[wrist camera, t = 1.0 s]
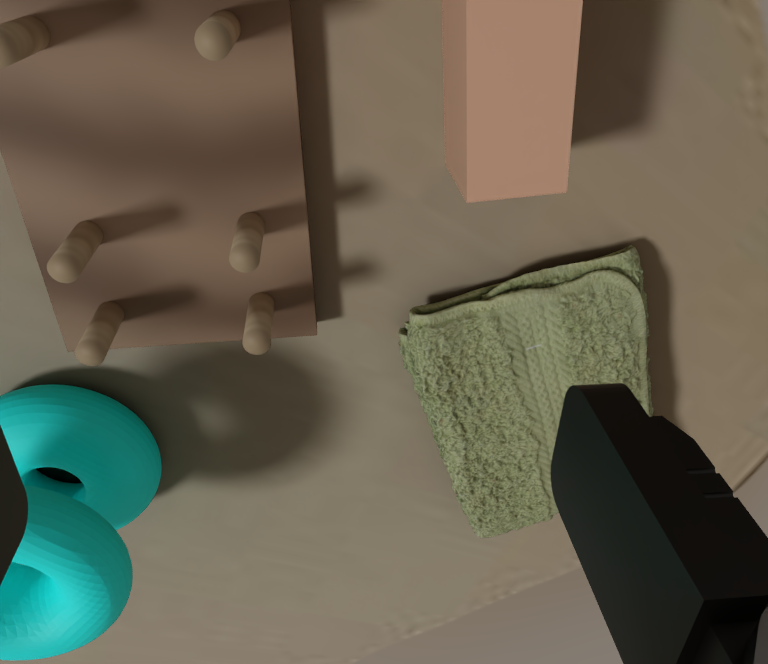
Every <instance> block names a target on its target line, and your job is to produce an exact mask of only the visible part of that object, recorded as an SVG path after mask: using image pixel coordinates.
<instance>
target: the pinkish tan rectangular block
mask: <svg viewBox="0 0 768 664" xmlns="http://www.w3.org/2000/svg"><path fill="white" fill-rule="evenodd" d="M582 5H583V0H442V29H443V78H444V126H445V165H446V167H447V169H448V170H449V172H450V174H451V176H452V177H453V179H454V181H455V183H456V184H457V186H458V188H459V190H460V192H461V193H462V195H463V197H464V199H465V200H466V202H467V203H470V202H479V201H489V200H498V199H508V198H518V197H527V196H537V195H546V194H556V193H565V192H567V184H568V172H569V160H570V148H571V136H572V124H573V112H574V100H575V88H576V76H577V64H578V53H579V41H580V29H581V17H582Z"/></svg>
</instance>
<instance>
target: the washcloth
mask: <svg viewBox="0 0 768 664" xmlns="http://www.w3.org/2000/svg"><path fill="white" fill-rule="evenodd" d="M642 274H643V270H642V268H641V266H640V257H639V254H638V252H637V250H636V248H635V247H634V246H632V245H629V246H628V247H626V248H624V249H622V250H619V251H617V252H613V253H611V254H608V255H605V256H602V257H599V258H595V259H592V260H589V261H584V262H578V263H572V264H568V265H561V266H557V267H552V268H547V269H543V270H540V271H535V272H531V273H526V274H524V275H521V276H518V277H516V278H513V279H510V280H508V281H506V282H502V283H499V284H495V285H491V286H488V287H484V288H480V289H477V290H473V291H471V292H468V293H465V294H463V295H460V296H456V297H454V298H450V299H447V300H445V301H442V302H437V303H434V304H428V305H421V306H417V307H414V308H412V309H411V310H410V312H409V318H410V319H409V321H408V322H404V324H405V328H400V330H399V336H400V342H399V345H400V346H401V348H400V353H401V355H402V356H403V360H404V365H405V366H404V369H408V372H409V373H410V374H411V375H412V378H413V380H414V388H415V391H417V394H418V395H419V397H420V398H419V399H420V400H421V406H422V407H423V408H424V413H427V415H428V416H427V419H428V422H429V425H430V426H431V428H432V432H433V437H434V440H435V441H436V443H437V444H439V445H438V446H437V448H438V449H439V450H440V456H441V458H442V459H443V462H444V464H445V465H446V467H447V471H448V473H449V475H450V476H451V478H452V479H451V480H452V481H453V483H452V488H453V489H454V492H455V493H456V494H458V495H457V498H456V499H457V501H458V502H459V503H461V507H462V509H463V512H464V514H465V515H467V516H468V518H469V525H472V528H473V530H474V533H475V534H476V536H479V537H480V538H489V537H492V536H496V535H500V534H503V533H508V532H509V531H510V530H512V529H515V530H519V529H520V528H523V526H526V527H528V526H530V525H532V524H535V523H537V522H540V521H548V520H550V519H552V518H553V515H554V514H557V513H558V512H559V511H558V509H557V506H556V503H555V500H554V497H553V492H552V487H551V461H552V456H553V451H554V446H555V441H556V436H557V432H558V427H559V422H560V417H561V412H562V407H563V402H564V398H565V394H566V392H567V390H568V388H569V387H570V386H572V385H589V384H610V383H623V384H625V385H626V386H628V387H629V389H630V390H631V391H632V393H633V394H634V396H635V397H636V398H637V400H638V401H639V403H640V404H641V406H642V407H643V409H644V410H645V411H646V413H647V414H648V416H649V417H652V415H653V410H654V408H653V407H652V403H653V402H651V396H652V395H651V382H650V378H651V376H650V375H649V374H648V362H649V361H650V358H649V357H648V356H647V344H648V341H647V337H648V336H650V334H649V329H648V327H649V325H648V323H647V320H648V317H649V314H648V310H647V307H648V305H647V301H646V300H647V296H646V295H647V294H646V293H645V292H644V291H643V286H644V285H643V280H644V277H643V275H642Z"/></svg>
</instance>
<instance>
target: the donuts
mask: <svg viewBox="0 0 768 664" xmlns="http://www.w3.org/2000/svg"><path fill="white" fill-rule="evenodd" d="M0 425H1V428H2V430H3V433H4V436H5V438H6V441H7V443H8V446H9V449H10V451H11V454H12V456H13V459H14V462H15V464H16V467H17V469H18V472H19V475H20V477H21V480H22V482H23V485H24V488H25V490H26V494H27V499H28V519H27V525H26V529H25V533H24V536H23V538H22V541H21V543H20V545H19V547H18V549H17V551H16V553H15V556H14V558H13V560H12V562H11V564H10V566H9V568H8V570H7V573H6V575H5V577H4V579H3V581H2V583H1V585H0V660H33V659H41V658H47V657H52V656H56V655H60V654H63V653H67V652H69V651H72V650H74V649H77V648H79V647H82V646H84V645H85V644H87V643H89V642H91V641H93V640H94V639H96V638H97V637H99V636H100V635H101V634H103V633H104V632H105V631H106V630H107V629H108V628H109V627H110V626H111V625H112V624H113V623H114V622H115V621H116V620H117V618H118V617H119V616H120V614H121V612H122V611H123V609H124V607H125V605H126V603H127V601H128V598H129V595H130V591H131V587H132V564H131V559H130V556H129V553H128V550H127V548H126V545H125V543H124V542H123V540H122V538H121V537H120V535H119V534H118V533H117V531H116V530H117V529H119V528H121V527H123V526H125V525H127V524H128V523H130V522H131V521H133V520H134V519H135V518H137V517H138V516H139V515H140V514H141V513H142V512H143V511H144V510H145V509H146V508H147V506H148V505H149V504H150V502H151V501H152V499H153V497H154V496H155V494H156V492H157V489H158V486H159V483H160V479H161V472H162V464H161V456H160V451H159V448H158V445H157V443H156V441H155V439H154V437H153V435H152V433H151V432H150V430H149V429H148V427H147V426H146V425H145V423H144V422H143V421H142V420H141V419H140V418H139V417H138V416H137V415H136V414H135V413H133V412H132V411H131V410H130V409H128V408H127V407H126V406H124V405H123V404H121V403H119V402H118V401H116V400H114V399H112V398H110V397H108V396H106V395H103V394H101V393H98V392H95V391H92V390H89V389H85V388H81V387H75V386H69V385H56V384H48V385H36V386H30V387H25V388H21V389H18V390H14V391H11V392H8V393H6V394H4V395H1V396H0ZM42 467H53V468H59V469H63V470H65V471H68V472H70V473H72V474H73V475H75V476H76V477H77V478H79V479H80V480H81V482H82V483H65V482H60V481H57V480H54V479H51V478H49V477H47V476H45V475H43V474H41V473H40V472H39V471H37V470H36V468H42ZM18 563H20V564H18ZM22 564H24V565H22Z"/></svg>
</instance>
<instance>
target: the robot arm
mask: <svg viewBox="0 0 768 664" xmlns="http://www.w3.org/2000/svg"><path fill="white" fill-rule="evenodd" d="M551 487H552V492H553V497H554V500H555V503H556V506H557V509H558V511H559V513H560V516H561V518H562V520H563V523H564V525H565V527H566V530H567V532H568V534H569V537H570V539H571V541H572V544H573V546H574V548H575V551H576V553H577V556H578V558H579V560H580V563H581V565H582V567H583V570H584V572H585V574H586V577H587V579H588V581H589V584H590V586H591V588H592V591H593V593H594V595H595V598H596V600H597V602H598V605H599V607H600V610H601V612H602V614H603V616H604V619H605V621H606V624H607V626H608V628H609V631H610V633H611V635H612V638H613V640H614V642H615V645H616V647H617V649H618V651H619V654H620V657H621V659H622V661H623V663H624V664H768V538H767V536H766V535H765V534H764V533H763V531H762V530H761V528H760V527H759V526H758V524H757V523H756V522H755V520H754V519H753V518H752V516H751V515H750V514H749V512H748V511H747V510H746V508H745V507H744V506H743V505H742V503H741V502H740V500H739V499H738V498H734V497H733V491H732V490H731V488H730V487H729V486H728V484H727V483H726V482H725V480H724V479H723V477H722V476H721V475H720V473H716V472H715V467H714V465H713V464H712V463H711V461H710V460H709V459H708V457H707V456H706V455H705V453H704V452H703V451H702V449H701V448H700V447H699V445H698V444H697V443H696V441H695V440H694V439H693V438H691V437H690V436H689V435H687V434H686V433H685V432H683V431H682V430H681V429H679V428H678V427H677V426H675V425H674V424H672V423H671V422H670V421H668V420H667V419H666V418H664V417H663V416H652V417H649V416H648V414H647V413H646V411H645V410H644V409H643V407H642V406H641V404H640V403H639V401H638V400H637V398H636V397H635V396H634V394H633V393H632V391H631V390H630V389H629V387H628V386H626V385H625V384H623V383H610V384H589V385H572V386H570V387H569V388H568V390H567V392H566V394H565V398H564V402H563V407H562V412H561V417H560V422H559V427H558V432H557V436H556V441H555V446H554V451H553V456H552V461H551ZM27 519H28V499H27V494H26V490H25V488H24V485H23V482H22V480H21V477H20V475H19V472H18V469H17V467H16V464H15V462H14V459H13V456H12V454H11V451H10V449H9V446H8V443H7V441H6V438H5V436H4V433H3V430H2V428H1V425H0V585H1V583H2V581H3V579H4V577H5V575H6V573H7V570H8V568H9V566H10V564H11V562H12V560H13V558H14V556H15V553H16V551H17V549H18V547H19V545H20V543H21V541H22V538H23V536H24V533H25V529H26V525H27Z"/></svg>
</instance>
